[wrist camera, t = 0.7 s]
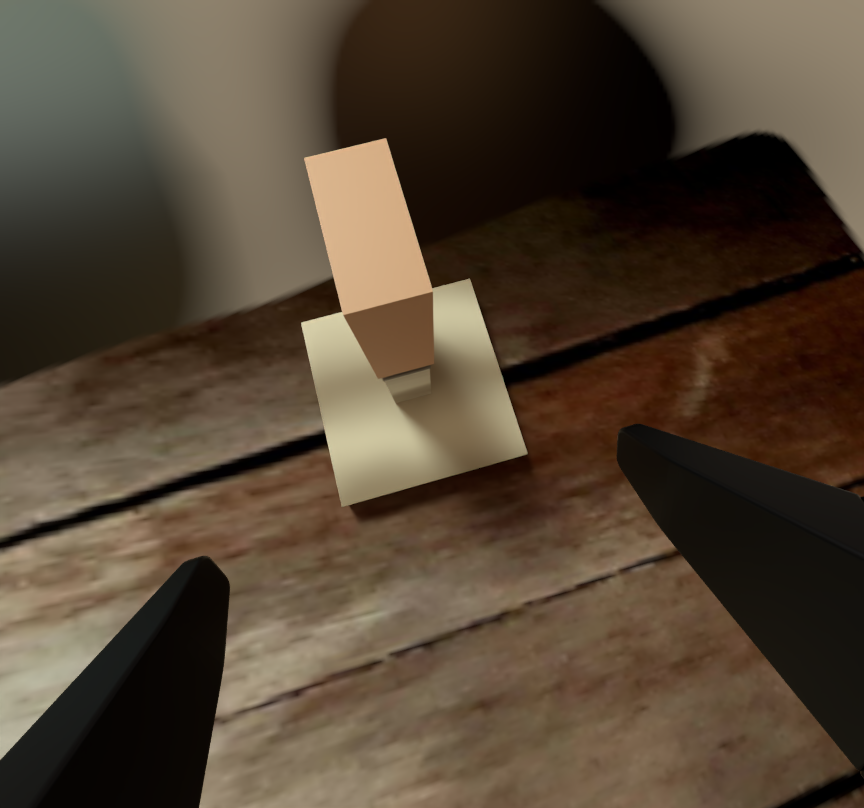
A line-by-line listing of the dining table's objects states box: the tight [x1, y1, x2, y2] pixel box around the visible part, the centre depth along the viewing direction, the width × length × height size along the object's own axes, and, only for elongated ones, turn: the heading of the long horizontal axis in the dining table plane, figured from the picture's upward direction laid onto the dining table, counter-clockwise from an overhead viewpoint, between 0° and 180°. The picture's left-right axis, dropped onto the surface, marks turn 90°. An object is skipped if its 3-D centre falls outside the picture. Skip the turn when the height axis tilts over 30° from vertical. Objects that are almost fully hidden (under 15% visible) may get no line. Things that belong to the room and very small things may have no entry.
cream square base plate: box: [301, 279, 528, 507], centre depth 19 cm, size 10×10×6 cm
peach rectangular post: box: [304, 139, 434, 379], centre depth 13 cm, size 5×2×6 cm, turn 16°
